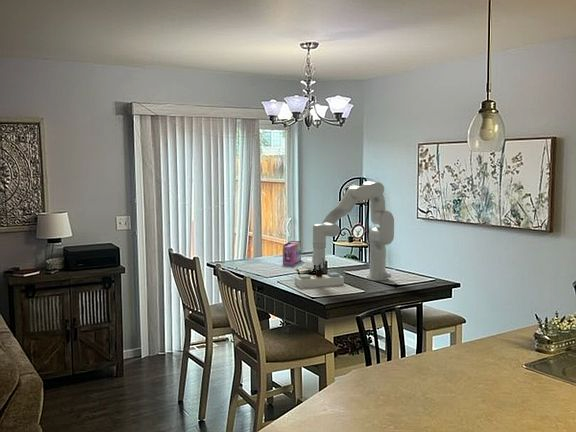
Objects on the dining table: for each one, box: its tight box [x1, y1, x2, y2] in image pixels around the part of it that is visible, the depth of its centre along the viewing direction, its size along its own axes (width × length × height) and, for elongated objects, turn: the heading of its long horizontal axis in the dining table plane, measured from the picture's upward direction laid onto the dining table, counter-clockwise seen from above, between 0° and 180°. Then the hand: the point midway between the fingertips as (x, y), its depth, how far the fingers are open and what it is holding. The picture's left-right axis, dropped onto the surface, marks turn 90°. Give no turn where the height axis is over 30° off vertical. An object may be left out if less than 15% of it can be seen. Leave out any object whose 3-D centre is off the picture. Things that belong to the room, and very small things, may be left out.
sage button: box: [298, 273, 312, 279], centre depth 326 cm, size 5×5×3 cm
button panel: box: [294, 274, 345, 289], centre depth 329 cm, size 27×9×4 cm, turn 107°
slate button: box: [327, 272, 340, 277], centre depth 331 cm, size 5×5×3 cm
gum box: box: [282, 240, 302, 266], centre depth 400 cm, size 24×8×14 cm, turn 165°
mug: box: [301, 258, 315, 272], centre depth 365 cm, size 12×10×8 cm
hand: (319, 276), depth 328 cm, fingers closed
